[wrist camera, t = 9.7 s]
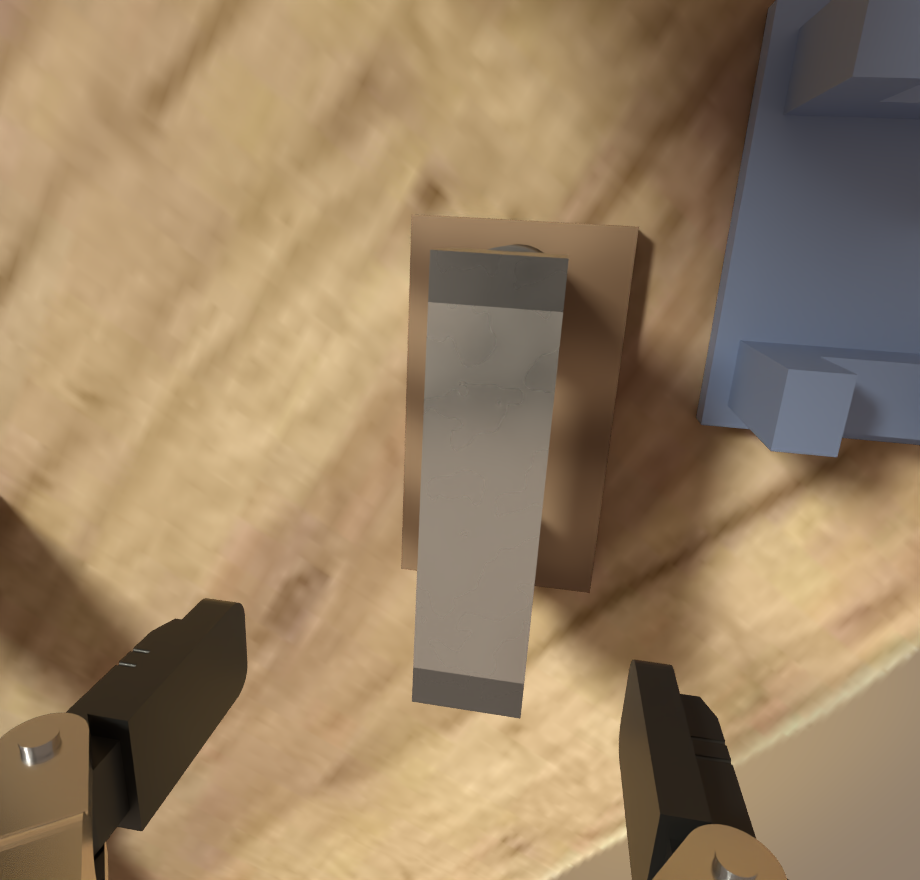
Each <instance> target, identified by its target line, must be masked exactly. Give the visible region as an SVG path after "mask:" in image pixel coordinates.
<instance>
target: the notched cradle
mask: <svg viewBox="0 0 920 880" xmlns="http://www.w3.org/2000/svg"><path fill="white" fill-rule="evenodd" d="M696 418H697V420H698V421H699V422H700V424H701V425H709V426H720V427H731V428H742V429H750V430H751V431H752V432H753V433H754V434H755V435H756V436H757V437H758V438H759V439H760V440H761V441H762V442H763V443H764V444H765V445H766V446H767V448H768V449H769V450H770V451H776V452H787V453H797V454H808V455H818V456H828V457H837V456H838V452H839V448H840V444H841V440H842V438H849V439H860V440H871V441H882V442H893V443H903V444H914V445H920V0H775V2H774V3H773V4H772V5H771V6H770V7H769V8H768V13H767V19H766V25H765V30H764V36H763V42H762V47H761V53H760V59H759V64H758V70H757V76H756V81H755V87H754V93H753V98H752V104H751V110H750V115H749V121H748V127H747V132H746V138H745V144H744V149H743V155H742V161H741V166H740V172H739V178H738V183H737V189H736V195H735V200H734V206H733V212H732V217H731V223H730V229H729V234H728V240H727V246H726V251H725V257H724V263H723V268H722V274H721V280H720V285H719V291H718V297H717V302H716V308H715V314H714V319H713V325H712V331H711V336H710V342H709V348H708V353H707V359H706V365H705V370H704V376H703V382H702V387H701V393H700V399H699V404H698V410H697V416H696Z"/></svg>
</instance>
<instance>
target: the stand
mask: <svg viewBox="0 0 920 880" xmlns="http://www.w3.org/2000/svg"><path fill="white" fill-rule="evenodd" d="M638 229H639V227H632V226H614V225H596V224H577V223H559V222H541V221H523V220H504V219H486V218H468V217H450V216H431V215H413V214H412V221H411V255H410V289H409V323H408V357H407V392H406V426H405V460H404V494H403V528H402V563H401V569H408V570H416V571H417V565H418V540H419V515H420V490H421V465H422V440H423V415H424V390H425V366H426V341H427V316H428V291H429V266H430V250H432V249H442V248H452V247H454V248H470V249H486V250H502V251H518V252H534V253H550V254H565V255H568V257H569V262H568V271H567V281H566V290H565V300H564V309H563V319H562V328H561V338H560V347H559V357H558V366H557V376H556V385H555V395H554V404H553V414H552V423H551V432H550V442H549V451H548V461H547V470H546V480H545V489H544V499H543V508H542V518H541V527H540V537H539V546H538V556H537V565H536V575H535V584H534V586H541V587H549V588H556V589H564V590H572V591H580V592H587V593H590V586H591V579H592V571H593V564H594V556H595V549H596V542H597V534H598V527H599V519H600V512H601V504H602V497H603V489H604V482H605V475H606V467H607V460H608V452H609V445H610V437H611V430H612V423H613V415H614V408H615V400H616V393H617V385H618V378H619V370H620V363H621V356H622V348H623V341H624V333H625V326H626V318H627V311H628V303H629V296H630V289H631V281H632V274H633V266H634V259H635V251H636V244H637V237H638Z"/></svg>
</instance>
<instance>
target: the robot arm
mask: <svg viewBox="0 0 920 880" xmlns="http://www.w3.org/2000/svg"><path fill="white" fill-rule="evenodd" d="M246 674H247V648H246V630H245V613H244V608H243V606H242V604H240V603H236V602H229V601H222V600H215V599H208V598H206V599H203V600H201V601H200V602H199V603H198V604H197V605H196V606H195V607H194V608H193V609H192V610H191V611H190V612H189V613H188V614H187V615H186V616H185V617H184V618H183V619H182V620H181V619H174V620H172V621H170V622H168V623H166V624H164V625H162V626H161V627H159V628H157V629H155V630H153V631H151V632H150V633H149V634H148V635H147V636H146V637H145V638H144V639H143V640H142V641H141V642H139V643H138V644H137V645H136V646H135V647H134V649H133V652H131V651H130V652H129V653H128V654H127V655H126V656H125V657H124V658H123V659H122V660H121V661H119V665H115V666H114V667H113V668H112V669H111V670H110V671H109V672H108V673H107V674H106V675H105V676H104V677H103V678H102V679H101V680H99V681H98V682H97V683H96V684H95V685H94V686H93V687H92V688H91V689H90V690H89V691H88V692H87V693H86V694H85V695H84V696H83V697H82V698H81V699H79V700H78V701H77V702H76V703H75V704H74V705H73V706H72V707H71V708H70V709H69V710H68V711H67V712H66V713H52V714H47V715H42V716H39V717H36V718H33V719H30V720H28V721H26V722H24V723H22V724H20V725H18V726H16V727H14V728H13V729H11V730H10V731H8V732H7V733H6V734H4V735H3V736H2V737H1V738H0V880H108V852H107V845H106V841H107V839H108V838H109V837H110V835H111V834H112V833H113V831H114V830H115V829H116V827H122V828H127V829H132V830H137V831H143V830H144V828H145V827H146V825H147V824H148V823H149V821H150V820H151V818H152V817H153V816H154V814H155V813H156V811H157V810H158V809H159V807H160V806H161V804H162V803H163V801H164V800H165V799H166V797H167V796H168V794H169V793H170V792H171V790H172V789H173V787H174V786H175V785H176V783H177V782H178V780H179V779H180V778H181V776H182V775H183V773H184V772H185V771H186V769H187V768H188V766H189V765H190V764H191V762H192V761H193V759H194V758H195V757H196V755H197V754H198V752H199V751H200V750H201V748H202V747H203V745H204V744H205V743H206V741H207V740H208V738H209V737H210V736H211V734H212V733H213V731H214V730H215V729H216V727H217V726H218V724H219V723H220V722H221V720H222V719H223V717H224V716H225V715H226V713H227V712H228V710H229V709H230V708H231V706H232V705H233V703H234V702H235V700H236V699H237V698H238V696H239V694H240V693H241V690H242V688H243V685H244V682H245V679H246ZM619 761H620V770H621V780H622V789H623V799H624V808H625V818H626V827H627V837H628V846H629V856H630V865H631V875H632V880H788V879H787V878H786V874H785V872H784V870H783V868H782V866H781V865H780V863H779V862H778V860H777V859H776V857H775V856H774V855H773V854H772V853H771V851H770V850H769V849H768V848H766V847H765V846H764V845H763V844H762V843H761V842H759V841H758V840H757V839H756V837H755V834H754V831H753V827H752V824H751V821H750V818H749V815H748V812H747V809H746V805H745V802H744V799H743V796H742V793H741V790H740V787H739V783H738V780H737V777H736V774H735V771H734V768H733V765H731V758H730V755H729V752H728V749H727V746H726V745H725V740H724V736H723V733H722V730H721V727H720V724H719V721H718V718H717V717H716V716H715V714H714V713H713V712H712V711H711V710H710V708H709V707H708V706H707V705H706V704H705V702H704V701H703V700H702V699H701V698H700V697H698V696H691V695H684V694H680V693H679V689H678V685H677V681H676V677H675V673H674V669H673V667H672V665H668V664H660V663H653V662H646V661H639V660H632V661H631V664H630V669H629V675H628V681H627V687H626V693H625V699H624V705H623V711H622V717H621V724H620V734H619Z"/></svg>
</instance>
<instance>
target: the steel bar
mask: <svg viewBox="0 0 920 880" xmlns="http://www.w3.org/2000/svg"><path fill="white" fill-rule="evenodd" d="M568 262H569V257H568V255H565V254H550V253H534V252H518V251H502V250H486V249H470V248H454V247H452V248H442V249H432V250H430V266H429V291H428V316H427V341H426V366H425V390H424V415H423V440H422V465H421V490H420V515H419V540H418V565H417V590H416V615H415V640H414V665H413V689H412V702H419V703H425V704H431V705H438V706H444V707H451V708H457V709H463V710H470V711H476V712H482V713H489V714H495V715H502V716H508V717H514V718H520V717H521V707H522V698H523V689H524V679H525V670H526V660H527V651H528V641H529V632H530V622H531V613H532V603H533V594H534V584H535V575H536V565H537V556H538V546H539V537H540V527H541V518H542V508H543V499H544V489H545V480H546V470H547V461H548V451H549V442H550V432H551V423H552V414H553V404H554V395H555V385H556V376H557V366H558V357H559V347H560V338H561V328H562V319H563V309H564V300H565V290H566V281H567V271H568Z"/></svg>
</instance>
